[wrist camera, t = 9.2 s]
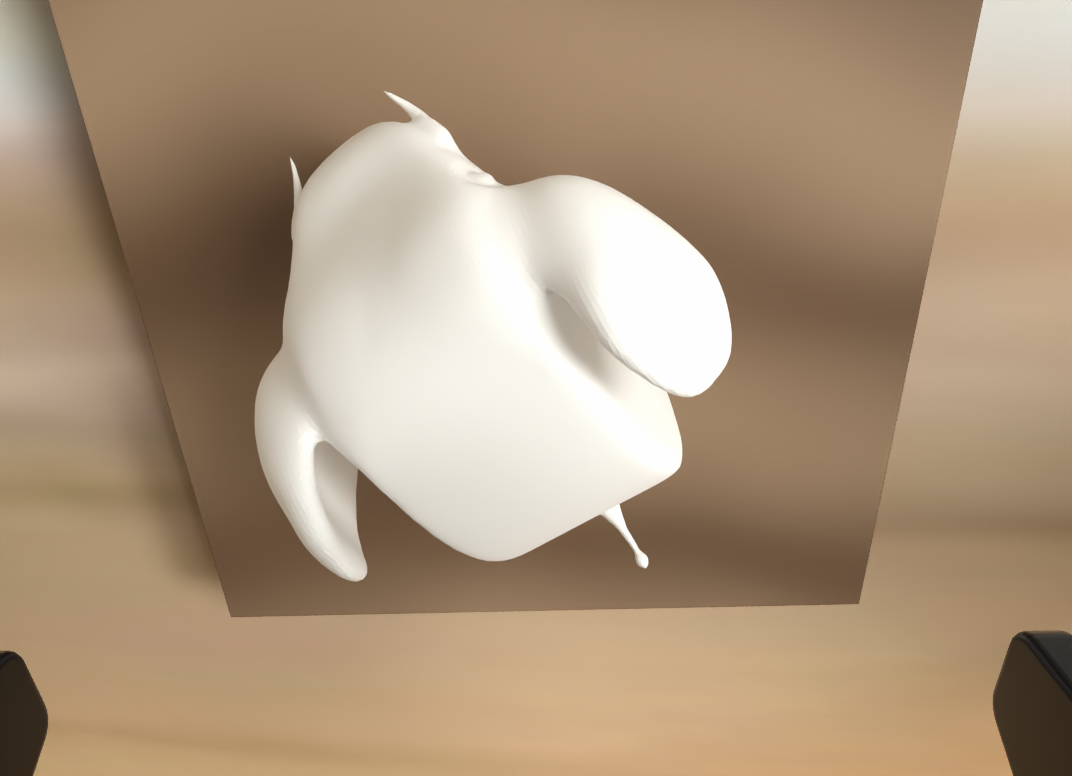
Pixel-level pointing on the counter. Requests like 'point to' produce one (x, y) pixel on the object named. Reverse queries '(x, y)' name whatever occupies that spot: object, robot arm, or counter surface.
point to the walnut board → (525, 155)
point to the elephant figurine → (477, 349)
